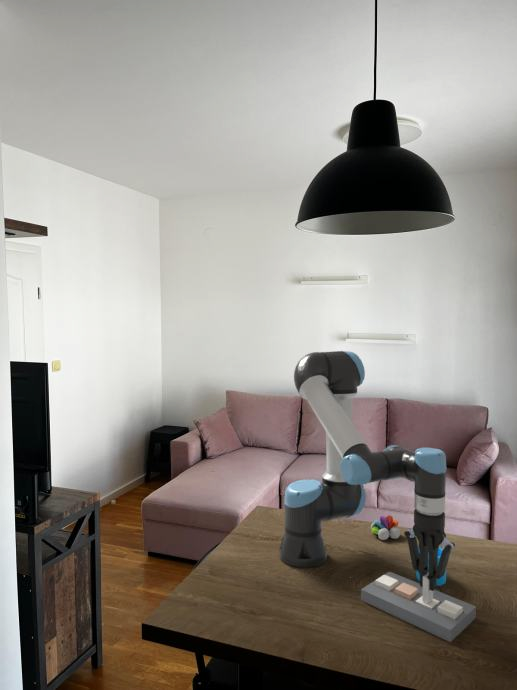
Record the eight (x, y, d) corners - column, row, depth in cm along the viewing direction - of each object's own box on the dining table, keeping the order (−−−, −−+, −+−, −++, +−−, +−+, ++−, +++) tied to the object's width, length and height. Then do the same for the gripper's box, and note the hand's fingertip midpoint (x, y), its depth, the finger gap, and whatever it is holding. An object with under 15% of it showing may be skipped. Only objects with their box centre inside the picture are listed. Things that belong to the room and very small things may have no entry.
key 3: (415, 612, 134) (415, 601, 134) (423, 605, 137) (423, 594, 137) (431, 619, 131) (431, 608, 131) (439, 612, 134) (439, 601, 134)
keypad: (360, 600, 140) (361, 589, 140) (389, 581, 150) (389, 571, 150) (450, 642, 122) (450, 630, 122) (475, 618, 132) (476, 606, 132)
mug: (447, 587, 147) (448, 559, 146) (417, 583, 149) (417, 556, 148) (443, 567, 158) (444, 541, 158) (415, 564, 160) (416, 538, 160)
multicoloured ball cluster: (404, 539, 178) (404, 519, 177) (377, 542, 176) (377, 521, 175) (392, 529, 186) (392, 509, 186) (367, 532, 184) (367, 512, 183)
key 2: (394, 599, 138) (394, 588, 138) (403, 593, 141) (403, 582, 141) (409, 606, 135) (409, 594, 135) (418, 599, 138) (418, 588, 138)
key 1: (375, 590, 142) (375, 580, 142) (384, 584, 145) (384, 574, 145) (389, 597, 139) (389, 586, 139) (398, 590, 142) (398, 580, 142)
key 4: (437, 618, 130) (437, 606, 129) (445, 611, 133) (445, 600, 132) (454, 626, 126) (454, 614, 126) (462, 618, 129) (462, 606, 129)
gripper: (398, 507, 134) (397, 595, 136) (447, 521, 125) (445, 616, 126) (413, 500, 139) (412, 585, 141) (461, 513, 130) (458, 604, 132)
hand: (427, 600), depth 134 cm, fingers closed
